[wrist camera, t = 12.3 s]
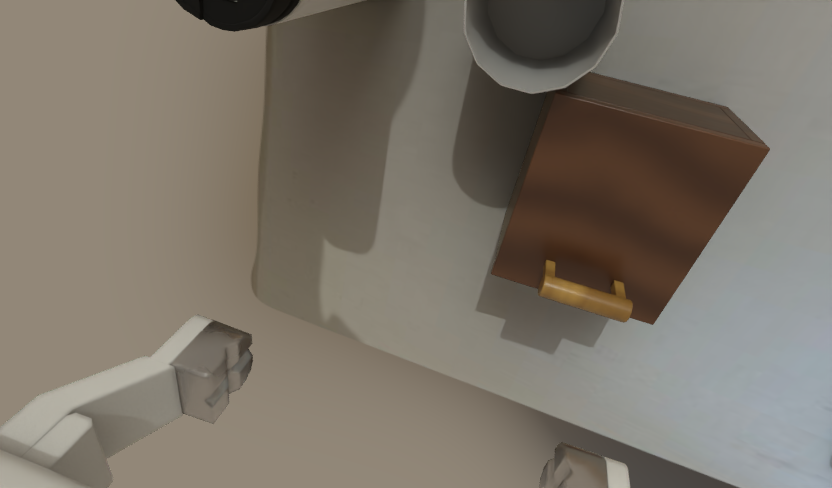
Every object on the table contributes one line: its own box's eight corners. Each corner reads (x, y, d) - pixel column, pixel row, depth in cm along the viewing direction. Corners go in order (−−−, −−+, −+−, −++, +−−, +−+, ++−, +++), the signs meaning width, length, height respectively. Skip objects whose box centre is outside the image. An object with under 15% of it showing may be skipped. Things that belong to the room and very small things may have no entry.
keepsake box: (642, 255, 42) (656, 311, 35) (505, 214, 43) (494, 260, 37) (728, 107, 34) (766, 143, 27) (557, 63, 35) (555, 88, 29)
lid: (651, 318, 36) (661, 360, 32) (491, 268, 37) (484, 303, 33) (766, 144, 27) (796, 174, 24) (555, 89, 29) (553, 109, 25)
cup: (473, 42, 36) (447, 70, 28) (505, -86, 31) (485, -97, 23) (581, 71, 35) (586, 109, 27) (631, -57, 30) (655, -58, 22)
